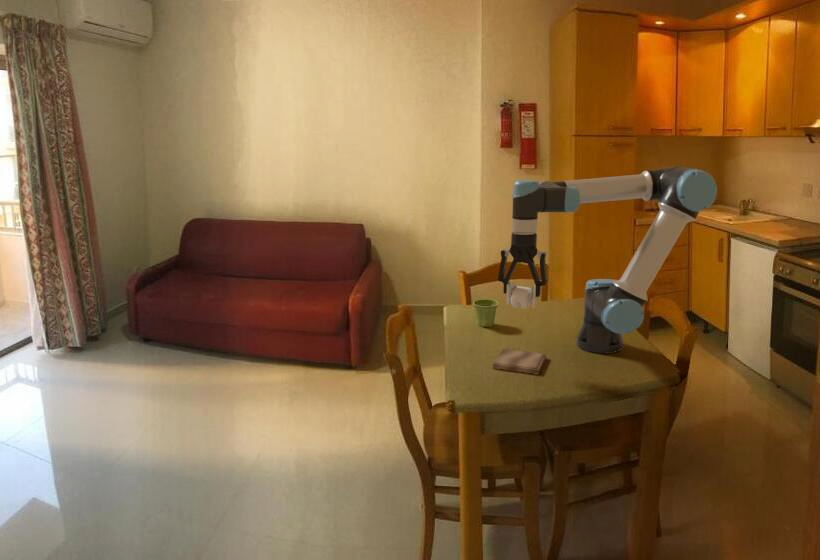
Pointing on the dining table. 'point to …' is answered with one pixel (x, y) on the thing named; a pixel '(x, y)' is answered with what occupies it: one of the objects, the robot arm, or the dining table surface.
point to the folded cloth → (519, 361)
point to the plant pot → (485, 311)
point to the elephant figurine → (520, 296)
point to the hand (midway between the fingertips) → (521, 304)
